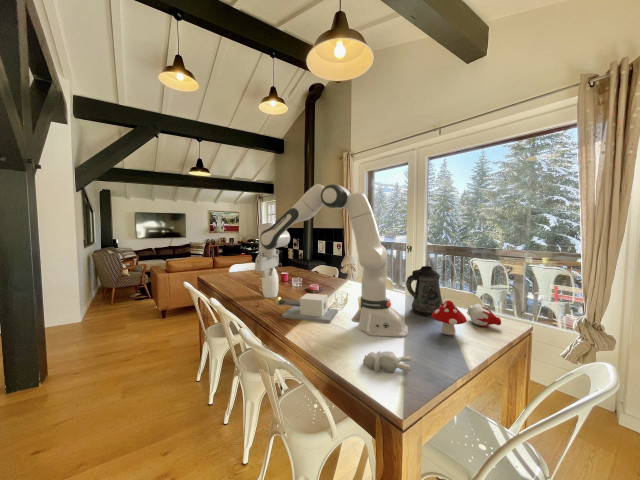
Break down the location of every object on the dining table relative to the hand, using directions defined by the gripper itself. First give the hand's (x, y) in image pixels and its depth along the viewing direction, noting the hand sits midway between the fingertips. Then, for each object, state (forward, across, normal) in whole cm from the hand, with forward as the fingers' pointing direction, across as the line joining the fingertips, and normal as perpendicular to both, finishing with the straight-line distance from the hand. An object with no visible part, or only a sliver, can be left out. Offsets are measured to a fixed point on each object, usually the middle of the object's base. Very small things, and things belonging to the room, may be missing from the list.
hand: (267, 276), depth 143 cm
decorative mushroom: (+19, -5, -92) cm, 94 cm away
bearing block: (+19, 0, -26) cm, 32 cm away
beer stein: (+19, +21, -84) cm, 89 cm away
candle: (+20, +11, -108) cm, 111 cm away
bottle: (+19, +25, +12) cm, 34 cm away
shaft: (+16, 0, -15) cm, 22 cm away
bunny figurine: (+20, -40, -67) cm, 81 cm away
